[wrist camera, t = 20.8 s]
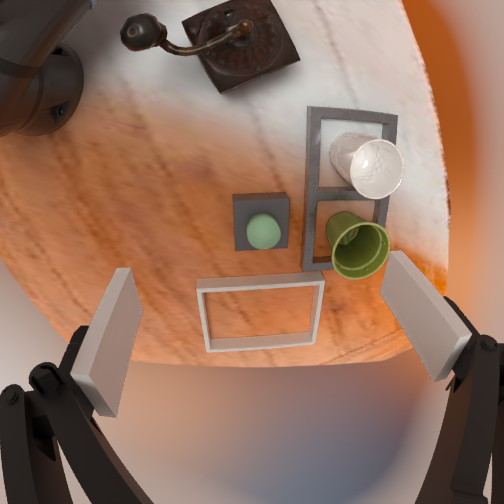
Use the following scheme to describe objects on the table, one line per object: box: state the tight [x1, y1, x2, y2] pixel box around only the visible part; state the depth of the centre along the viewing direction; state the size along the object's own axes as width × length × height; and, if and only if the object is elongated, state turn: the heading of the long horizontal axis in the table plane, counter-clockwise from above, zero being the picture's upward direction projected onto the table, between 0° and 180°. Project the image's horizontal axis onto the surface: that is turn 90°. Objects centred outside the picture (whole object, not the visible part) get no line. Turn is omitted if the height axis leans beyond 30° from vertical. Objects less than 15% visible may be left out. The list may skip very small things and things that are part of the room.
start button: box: [246, 213, 281, 250], centre depth 44 cm, size 5×5×5 cm
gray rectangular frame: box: [196, 271, 325, 352], centre depth 55 cm, size 22×16×3 cm
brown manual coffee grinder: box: [120, 0, 300, 94], centre depth 27 cm, size 16×11×18 cm
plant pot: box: [326, 211, 390, 280], centre depth 46 cm, size 9×9×9 cm
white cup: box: [330, 133, 404, 199], centre depth 39 cm, size 8×8×10 cm
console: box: [233, 192, 289, 251], centre depth 46 cm, size 8×8×3 cm
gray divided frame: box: [300, 106, 398, 272], centre depth 45 cm, size 14×26×2 cm, turn 1°
